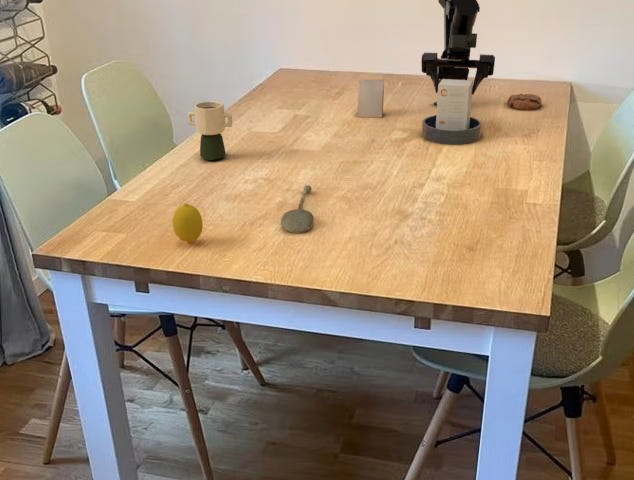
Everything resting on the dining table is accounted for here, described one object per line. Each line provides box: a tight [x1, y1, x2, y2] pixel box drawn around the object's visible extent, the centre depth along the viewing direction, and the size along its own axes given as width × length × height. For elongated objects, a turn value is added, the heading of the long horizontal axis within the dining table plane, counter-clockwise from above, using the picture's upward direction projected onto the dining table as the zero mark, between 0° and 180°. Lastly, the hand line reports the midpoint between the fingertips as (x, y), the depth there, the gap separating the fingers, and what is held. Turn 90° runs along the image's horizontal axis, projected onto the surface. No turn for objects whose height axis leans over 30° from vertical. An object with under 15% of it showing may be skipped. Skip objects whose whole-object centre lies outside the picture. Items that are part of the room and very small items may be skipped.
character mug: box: [187, 100, 233, 161], centre depth 186 cm, size 11×7×13 cm, turn 80°
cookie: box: [506, 93, 542, 111], centre depth 226 cm, size 10×11×3 cm
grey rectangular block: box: [357, 78, 385, 118], centre depth 217 cm, size 4×7×10 cm, turn 80°
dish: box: [421, 114, 483, 145], centre depth 202 cm, size 15×15×4 cm
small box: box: [435, 79, 474, 130], centre depth 200 cm, size 8×6×13 cm
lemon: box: [172, 203, 204, 244], centre depth 145 cm, size 6×6×8 cm
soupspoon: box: [280, 184, 315, 234], centre depth 159 cm, size 22×3×7 cm
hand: (454, 93), depth 199 cm, fingers open, 9 cm apart
